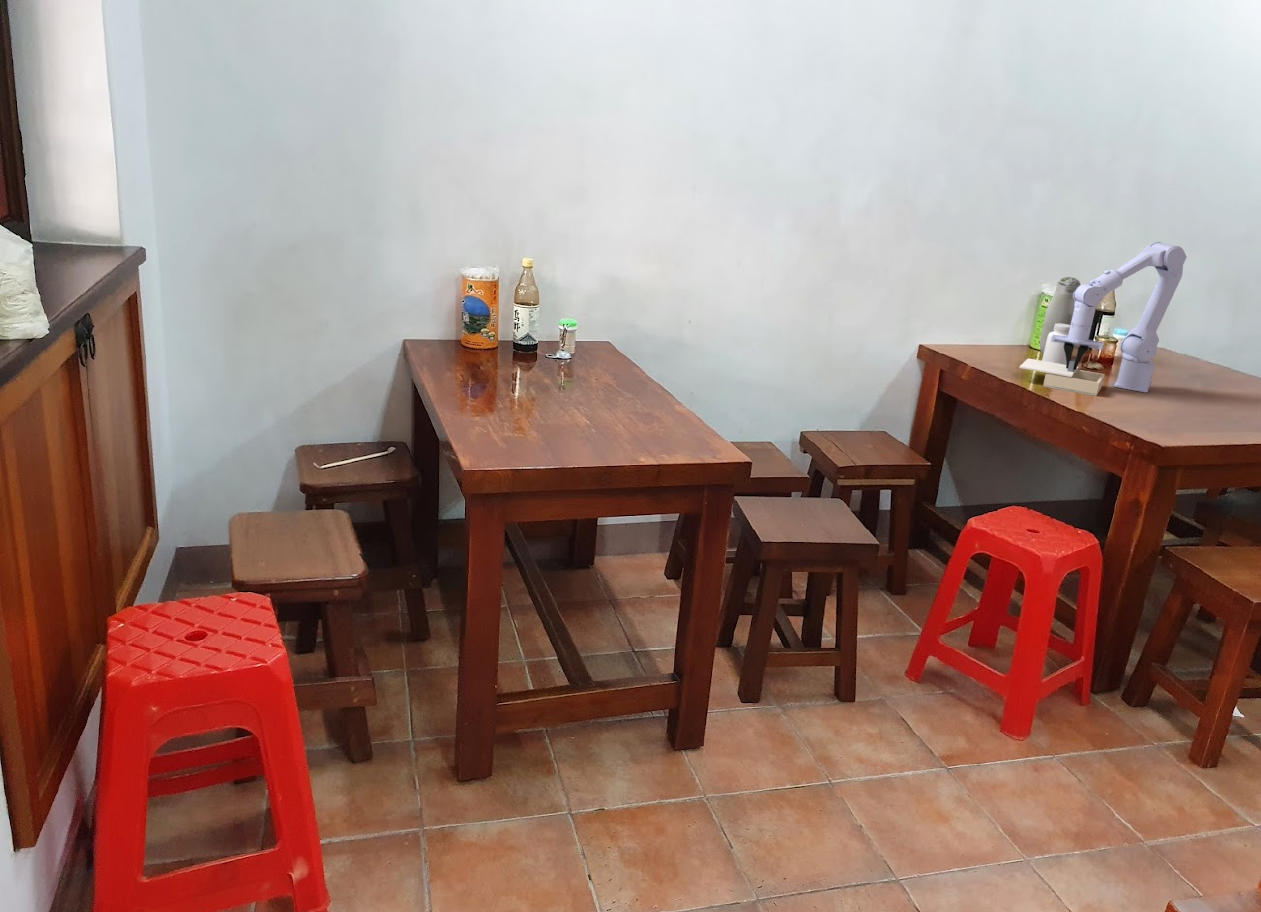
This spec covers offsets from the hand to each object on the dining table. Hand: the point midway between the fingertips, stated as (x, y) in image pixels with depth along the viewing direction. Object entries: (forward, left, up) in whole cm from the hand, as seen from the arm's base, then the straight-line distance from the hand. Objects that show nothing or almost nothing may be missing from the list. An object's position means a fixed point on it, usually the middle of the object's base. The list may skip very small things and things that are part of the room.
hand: (1071, 368), depth 292 cm
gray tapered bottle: (+10, -37, -6) cm, 39 cm away
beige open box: (-1, 0, -5) cm, 6 cm away
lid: (+6, 0, -1) cm, 6 cm away
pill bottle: (+7, -19, -6) cm, 21 cm away
